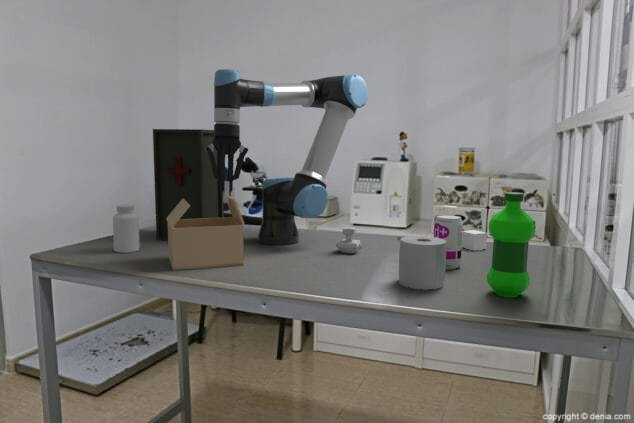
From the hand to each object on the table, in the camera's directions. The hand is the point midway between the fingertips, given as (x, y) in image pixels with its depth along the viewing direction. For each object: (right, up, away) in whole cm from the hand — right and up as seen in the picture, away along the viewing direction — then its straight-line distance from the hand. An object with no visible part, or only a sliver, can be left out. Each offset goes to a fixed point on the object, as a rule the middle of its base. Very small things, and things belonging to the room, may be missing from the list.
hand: (226, 202), depth 152 cm
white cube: (+82, -16, +23) cm, 87 cm away
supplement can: (+66, -19, -2) cm, 69 cm away
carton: (-6, -18, 0) cm, 19 cm away
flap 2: (+2, -2, +1) cm, 3 cm away
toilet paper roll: (+55, -22, -20) cm, 62 cm away
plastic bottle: (+74, -23, -28) cm, 83 cm away
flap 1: (-13, -3, -5) cm, 14 cm away
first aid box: (-20, -12, +38) cm, 45 cm away
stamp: (+38, -17, +15) cm, 44 cm away
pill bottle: (-35, -16, +14) cm, 41 cm away
